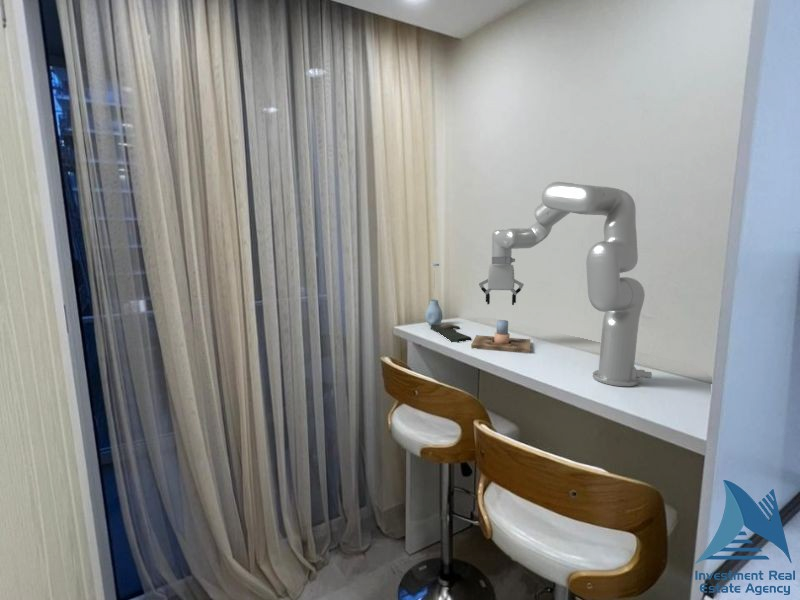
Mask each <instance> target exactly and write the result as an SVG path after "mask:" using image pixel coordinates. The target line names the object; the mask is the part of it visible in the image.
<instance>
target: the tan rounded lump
mask: <svg viewBox="0 0 800 600" xmlns="http://www.w3.org/2000/svg"><path fill="white" fill-rule="evenodd" d="M510 335H511V334H510V333H509V332H508V334H505V335H501V334H497V331H495V332H494V336H493V337H494V343H496V344H509V338H510V337H511V336H510Z"/></svg>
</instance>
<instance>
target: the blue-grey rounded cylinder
mask: <svg viewBox="0 0 800 600" xmlns="http://www.w3.org/2000/svg"><path fill="white" fill-rule="evenodd" d="M496 332H497V334H501V335H505V334H508V333H509V321H508V320H505V319H498V320H496Z"/></svg>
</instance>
